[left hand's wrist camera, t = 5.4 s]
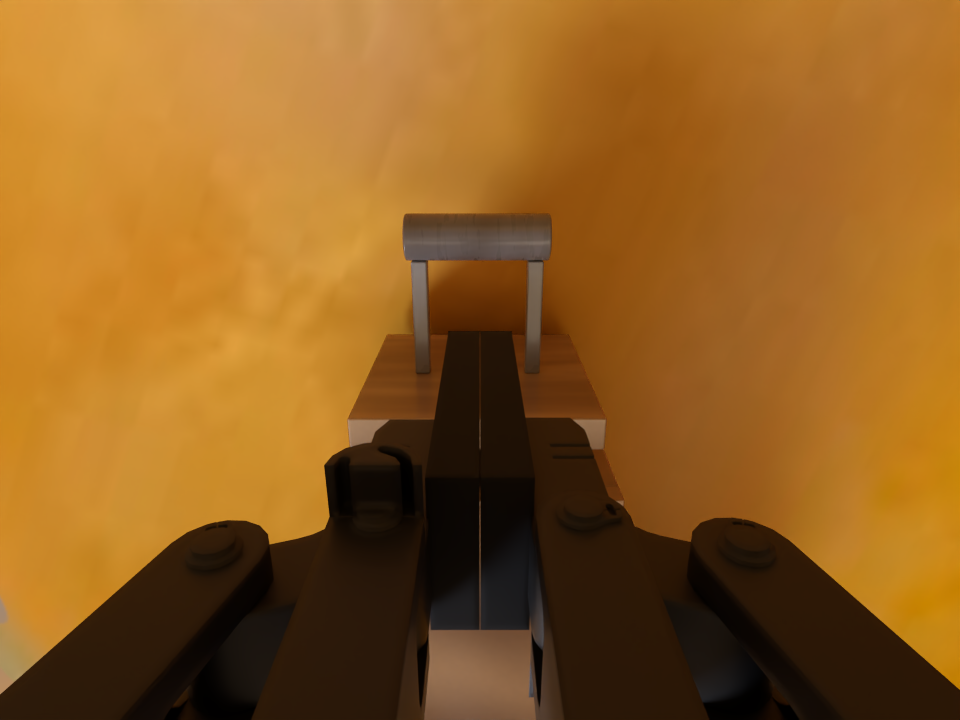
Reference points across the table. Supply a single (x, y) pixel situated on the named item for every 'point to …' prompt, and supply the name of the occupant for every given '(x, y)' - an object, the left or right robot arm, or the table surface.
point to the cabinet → (488, 662)
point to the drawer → (419, 358)
